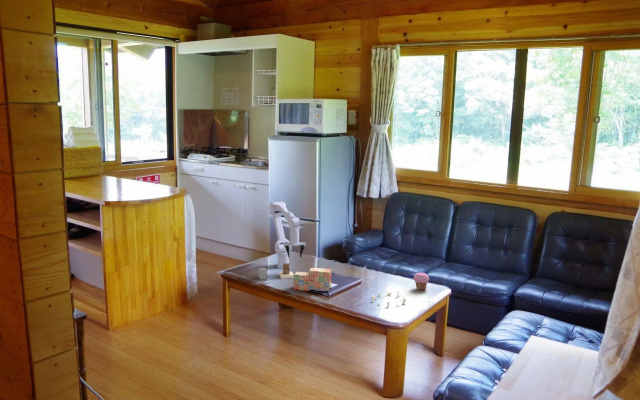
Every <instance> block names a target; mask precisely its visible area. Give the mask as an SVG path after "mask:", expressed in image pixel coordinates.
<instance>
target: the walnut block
mask: <svg viewBox="0 0 640 400" xmlns="http://www.w3.org/2000/svg"><path fill="white" fill-rule="evenodd" d="M289 266H290V262H289V263H283V268H282V272H283V274H289V271H290V268H289Z"/></svg>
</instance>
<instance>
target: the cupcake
mask: <svg viewBox="0 0 640 400" xmlns="http://www.w3.org/2000/svg"><path fill="white" fill-rule="evenodd" d="M429 280H430V276H429V275H428V274H427V273H425V272H417V273H416V274H415V275H414V276H413V281H414V283H415V286H416V289H417V290H418V291H425V290H427V285H428V282H429Z"/></svg>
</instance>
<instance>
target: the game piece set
mask: <svg viewBox="0 0 640 400" xmlns="http://www.w3.org/2000/svg"><path fill="white" fill-rule="evenodd" d="M396 293H397V295H396V298H398V299H399V298H400V297H401V298H402V304H403V305H404V304H405V303H406V302H407V298H406V297H403V295H399V293H400V292H399V291H397V292H396ZM386 295H387V296H392V292H389V291H388V290H386ZM371 297H372V298H371V302H372V303H375V299H376V298H377V297H382V294H381V292H378V294H377V296H375V295H374V294H373V293H372V294H371ZM386 304H387V305H386V306H387V308H389V307H390V301H387V302H386ZM380 305H381V303H380V302H378V303H377V306H380ZM396 307H400V305H399V304H396Z"/></svg>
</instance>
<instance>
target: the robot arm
mask: <svg viewBox="0 0 640 400" xmlns="http://www.w3.org/2000/svg"><path fill="white" fill-rule="evenodd" d="M286 206H287V205H286V202H285V201H284V200H283V201H273V202H272V201H271V202H270V203H269V212H270V213H269V214H270V216H271V217H272V219H273V223H274V228H275V233H276V236H277V238H276V239H277V240H276V242H275V243H274V250H275V252H276V254H277V263H276V266H277V269H283V263H289V264H290V253H291V252H292V247H299V258H302V254H303V251H304V250H305V247H306V246H307V243H306V242H300V227H301V224H302V223H301V218H300V217H297V216H295V215H294V214H293V212H292V211H289V210H288V208H287V207H286ZM282 215H284V216H283V217H284V219H285V220H286V221H287V223H288V229H289V240H288V239H287V238H286V236H285V231H284V226H283V223H282V217H281V216H282ZM290 268H291V266H290V265H289V269H290Z"/></svg>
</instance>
